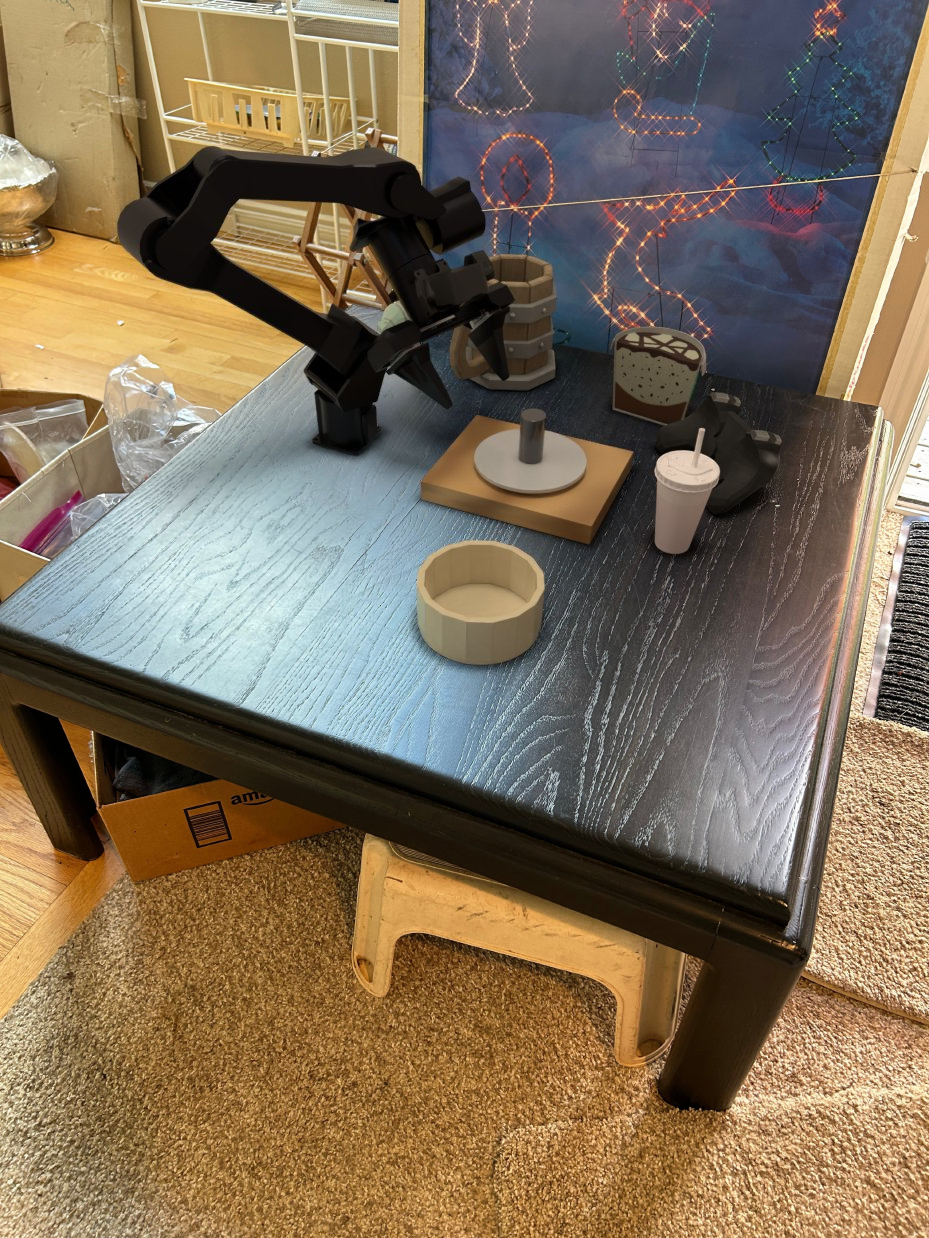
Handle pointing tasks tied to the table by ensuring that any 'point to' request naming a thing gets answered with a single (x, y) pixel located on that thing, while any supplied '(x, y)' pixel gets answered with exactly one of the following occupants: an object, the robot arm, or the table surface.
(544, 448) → the lid
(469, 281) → the robot arm
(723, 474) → the game controller
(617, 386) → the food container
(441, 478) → the board
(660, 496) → the smoothie
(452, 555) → the tin
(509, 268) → the tankard
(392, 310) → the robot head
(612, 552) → the table surface
